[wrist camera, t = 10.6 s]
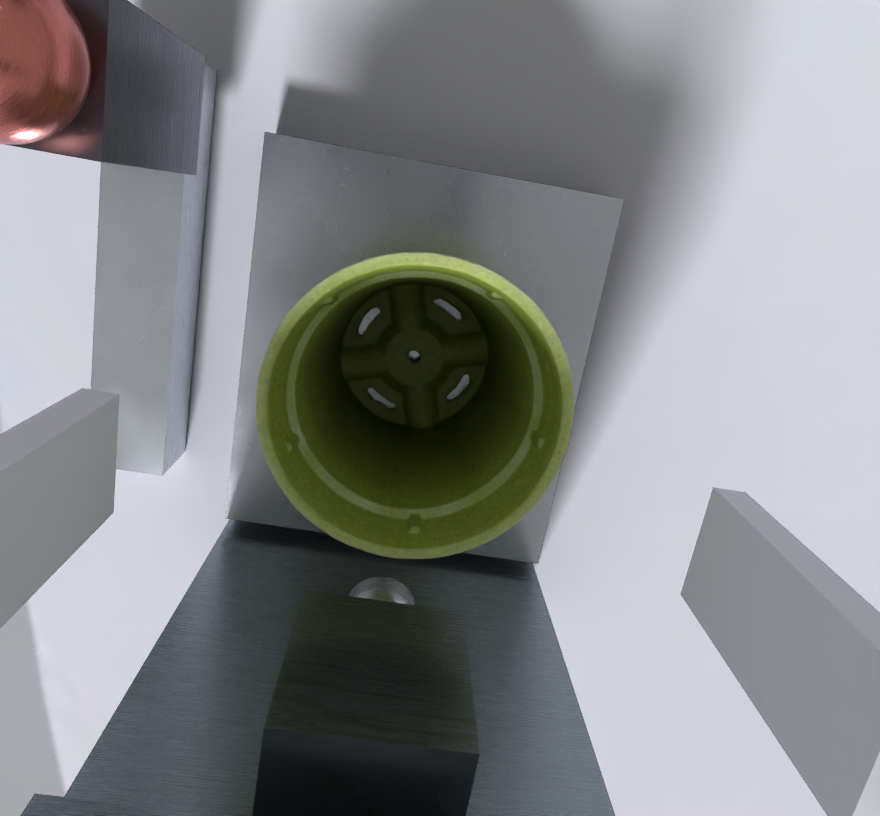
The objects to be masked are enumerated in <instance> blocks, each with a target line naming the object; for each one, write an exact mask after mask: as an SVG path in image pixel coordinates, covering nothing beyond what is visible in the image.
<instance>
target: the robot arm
mask: <svg viewBox="0 0 880 816" xmlns="http://www.w3.org/2000/svg"><path fill="white" fill-rule="evenodd" d="M119 395H120V394H115V393H109V392H103V391H96V390H90V389H83V388H82V389H80V390H79V391H77V392H75V393H73V394H71V395H70V396H68V397H66V398H64V399H63V400H61V401H59V402H57V403H55V404H54V405H52V406H50V407H48V408H47V409H45V410H43V411H41V412H39V413H38V414H36V415H34V416H32V417H30V418H29V419H27V420H25V421H23V422H22V423H20V424H18V425H16V426H14V427H13V428H11V429H9V430H7V431H6V432H4V433H2V434H0V628H1V627H2V626H3V625H4V624H5V623H6V622H7V621H8V620H9V619H10V618H11V617H12V616H13V615H14V614H15V613H16V612H17V611H18V610H19V609H20V608H21V607H22V606H23V605H24V604H25V603H26V602H27V601H28V600H29V599H30V598H31V596H32V595H33V594H34V593H35V592H36V591H37V590H38V589H39V588H40V587H41V586H42V585H43V584H44V583H45V582H46V581H47V580H48V579H49V578H50V577H51V576H52V575H53V574H54V573H55V572H56V571H57V570H58V569H59V568H60V567H61V566H62V565H63V564H64V563H65V562H66V561H67V560H68V559H69V558H70V556H71V555H72V554H73V553H74V552H75V551H76V550H77V549H78V548H79V547H80V546H81V545H82V544H83V543H84V542H85V541H86V540H87V539H88V538H89V537H90V536H91V535H92V534H93V533H94V532H95V531H96V530H97V529H98V528H99V527H100V526H101V525H102V524H103V523H104V522H105V521H106V520H107V519H108V518H109V516H110V515H111V514H112V513H113V512H114V492H115V473H116V453H117V434H118V414H119ZM681 596H682V597H683V599H684V600H685V602H686V603H687V605H688V606H689V608H690V609H691V611H692V612H693V614H694V615H695V617H696V618H697V620H698V621H699V623H700V624H701V626H702V627H703V629H704V630H705V632H706V633H707V635H708V636H709V638H710V639H711V641H712V642H713V644H714V645H715V647H716V648H717V650H718V651H719V653H720V654H721V656H722V657H723V659H724V660H725V662H726V663H727V665H728V667H729V668H730V670H731V671H732V673H733V674H734V676H735V677H736V679H737V680H738V682H739V683H740V685H741V686H742V688H743V689H744V691H745V692H746V694H747V695H748V697H749V698H750V700H751V701H752V703H753V704H754V706H755V707H756V709H757V710H758V712H759V713H760V715H761V716H762V718H763V719H764V721H765V722H766V724H767V725H768V727H769V728H770V730H771V731H772V733H773V734H774V736H775V737H776V739H777V740H778V742H779V743H780V745H781V746H782V748H783V749H784V751H785V752H786V754H787V755H788V757H789V758H790V760H791V761H792V763H793V764H794V766H795V768H796V769H797V771H798V772H799V774H800V775H801V777H802V778H803V780H804V781H805V783H806V784H807V786H808V787H809V789H810V790H811V792H812V793H813V795H814V796H815V798H816V799H817V801H818V802H819V804H820V805H821V807H822V808H823V810H824V811H825V813H826V814H827V816H880V612H878V611H877V610H876V609H875V608H874V607H873V606H872V605H871V604H869V603H868V602H867V601H866V600H865V599H864V598H863V597H862V596H861V595H859V594H858V593H857V592H856V591H855V590H854V589H853V588H852V587H851V586H849V585H848V584H847V583H846V582H845V581H844V580H843V579H842V578H840V577H839V576H838V575H837V574H836V573H835V572H834V571H833V570H832V569H830V568H829V567H828V566H827V565H826V564H825V563H824V562H823V561H822V560H820V559H819V558H818V557H817V556H816V555H815V554H814V553H813V552H811V551H810V550H809V549H808V548H807V547H806V546H805V545H804V544H803V543H801V542H800V541H799V540H798V539H797V538H796V537H795V536H794V535H793V534H791V533H790V532H789V531H788V530H787V529H786V528H785V527H784V526H782V525H781V524H780V523H779V522H778V521H777V520H776V519H775V518H774V517H772V516H771V515H770V514H769V513H768V512H767V511H766V510H765V509H763V508H762V507H761V506H760V505H759V504H758V503H757V502H756V501H755V500H753V499H752V498H751V497H750V496H749V495H748V494H747V493H746V492H739V491H733V490H726V489H720V488H714V487H713V490H712V493H711V497H710V500H709V503H708V506H707V510H706V513H705V516H704V520H703V523H702V526H701V529H700V533H699V536H698V539H697V542H696V546H695V549H694V552H693V555H692V559H691V562H690V565H689V569H688V572H687V575H686V578H685V582H684V585H683V588H682V591H681Z"/></svg>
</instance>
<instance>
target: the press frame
mask: <svg viewBox="0 0 880 816" xmlns="http://www.w3.org/2000/svg"><path fill="white" fill-rule="evenodd" d="M216 76H217V71H216V70H214V69H213V68H211V67H210V66H208V65H207V64H205V71H204V84H203V96H202V109H201V122H200V134H199V147H198V159H197V172H196V175H189V174H182V173H175V172H168V171H161V170H154V169H147V168H140V167H133V166H126V165H119V164H113V163H106V162H101V174H100V197H99V219H98V242H97V264H96V287H95V309H94V331H93V354H92V376H91V390H96V391H103V392H109V393H115V394H120V395H119V414H118V434H117V453H116V469H120V470H127V471H134V472H140V473H147V474H154V475H161V476H162V475H163V474H164V473H165V472H166V471H167V470H168V469H169V468H170V467H171V466H172V465H173V464H174V463H175V462H176V461H177V460H178V458H179V457H180V456H181V455H182V454H183V453H184V452H185V447H186V435H187V423H188V411H189V399H190V387H191V375H192V363H193V351H194V339H195V327H196V315H197V303H198V291H199V279H200V267H201V255H202V243H203V232H204V220H205V208H206V196H207V184H208V172H209V160H210V148H211V136H212V124H213V112H214V100H215V88H216ZM623 202H624V199H620V198H615V197H609V196H604V195H599V194H593V193H588V192H583V191H577V190H572V189H567V188H561V187H556V186H551V185H545V184H540V183H535V182H529V181H524V180H519V179H514V178H508V177H503V176H498V175H492V174H487V173H482V172H476V171H471V170H466V169H460V168H455V167H450V166H444V165H439V164H434V163H428V162H423V161H418V160H413V159H407V158H402V157H397V156H391V155H386V154H381V153H375V152H370V151H365V150H359V149H354V148H349V147H343V146H338V145H333V144H327V143H322V142H317V141H312V140H306V139H301V138H296V137H290V136H285V135H280V134H274V133H269V132H265V135H264V145H263V155H262V164H261V174H260V184H259V194H258V203H257V213H256V223H255V233H254V242H253V252H252V262H251V272H250V281H249V291H248V301H247V311H246V321H245V330H244V340H243V350H242V360H241V369H240V379H239V389H238V399H237V408H236V418H235V428H234V438H233V447H232V457H231V467H230V477H229V486H228V496H227V506H226V516H225V518H226V519H230V520H229V521H228V523H227V525H226V527H225V528H224V530H223V532H222V533H221V535H220V537H219V538H218V540H217V542H216V543H215V545H214V547H213V548H212V550H211V552H210V553H209V555H208V557H207V558H206V560H205V562H204V563H203V565H202V567H201V568H200V570H199V572H198V573H197V575H196V577H195V578H194V580H193V582H192V584H191V585H190V587H189V589H188V590H187V592H186V594H185V595H184V597H183V599H182V600H181V602H180V604H179V605H178V607H177V609H176V610H175V612H174V614H173V615H172V617H171V619H170V620H169V622H168V624H167V625H166V627H165V629H164V630H163V632H162V634H161V635H160V637H159V639H158V641H157V642H156V644H155V646H154V647H153V649H152V651H151V652H150V654H149V656H148V657H147V659H146V661H145V662H144V664H143V666H142V667H141V669H140V671H139V672H138V674H137V676H136V677H135V679H134V681H133V682H132V684H131V686H130V687H129V689H128V691H127V692H126V694H125V696H124V698H123V699H122V701H121V703H120V704H119V706H118V708H117V709H116V711H115V713H114V714H113V716H112V718H111V719H110V721H109V723H108V724H107V726H106V728H105V729H104V731H103V733H102V734H101V736H100V738H99V739H98V741H97V743H96V744H95V746H94V748H93V749H92V751H91V753H90V755H89V756H88V758H87V760H86V761H85V763H84V765H83V766H82V768H81V770H80V771H79V773H78V775H77V776H76V778H75V780H74V781H73V783H72V785H71V786H70V788H69V790H68V791H67V793H66V795H65V796H64V797H60V796H51V795H42V794H34V796H33V797H32V799H31V800H30V802H29V803H28V805H27V806H26V808H25V809H24V811H23V813H22V814H21V816H615V813H614V810H613V807H612V804H611V801H610V798H609V795H608V792H607V789H606V786H605V783H604V780H603V777H602V774H601V771H600V768H599V765H598V762H597V759H596V755H595V752H594V749H593V746H592V743H591V740H590V737H589V734H588V731H587V728H586V725H585V722H584V719H583V716H582V713H581V710H580V707H579V704H578V701H577V697H576V694H575V691H574V688H573V685H572V682H571V679H570V676H569V673H568V670H567V667H566V664H565V661H564V658H563V655H562V652H561V649H560V646H559V643H558V639H557V636H556V633H555V630H554V627H553V624H552V621H551V618H550V615H549V612H548V609H547V606H546V603H545V600H544V597H543V594H542V591H541V588H540V585H539V582H538V578H537V575H536V572H535V569H534V566H533V563H537V564H538V562H539V558H540V554H541V550H542V545H543V541H544V537H545V533H546V528H547V524H548V520H549V516H550V511H551V507H552V503H553V499H554V494H555V490H556V486H557V482H558V478H559V473H560V469H561V466H560V469H559V471H558V472H557V474H556V476H555V478H554V480H553V481H552V483H551V485H550V486H549V488H548V489H547V491H546V492H545V493H544V495H543V496H542V497H541V499H540V500H539V501H538V502H537V504H536V505H535V506H534V507H533V508H532V509H531V510H530V511H529V512H528V513H527V514H526V515H525V517H523V518H522V519H521V520H520V521H519V522H518V523H516V524H515V525H514V526H512V527H511V528H510V529H508V530H507V531H506V532H504V533H503V534H501V535H500V536H498V537H496V538H495V539H492V540H491V541H489V542H487V543H485V544H482V545H480V546H478V547H476V548H473V549H471V550H467V551H464V552H461V553H457V554H453V555H449V556H445V557H439V558H430V559H397V558H390V557H385V556H379V555H376V554H372V553H369V552H365V551H363V550H360V549H357V548H354V547H352V546H349V545H347V544H345V543H343V542H341V541H339V540H337V539H335V538H333V537H332V536H330V535H329V534H327V533H326V532H324V531H323V530H321V529H320V528H318V527H316V526H315V525H314V524H313V523H311V522H310V521H309V520H308V519H307V518H305V517H304V516H303V515H302V514H301V513H300V512H299V511H298V510H297V509H296V508H295V507H294V506H293V504H292V503H291V502H290V501H289V499H288V498H287V497H286V495H285V494H284V493H283V491H282V490H281V488H280V486H279V485H278V483H277V481H276V480H275V478H274V476H273V474H272V472H271V470H270V468H269V466H268V464H267V462H266V459H265V457H264V454H263V451H262V448H261V444H260V440H259V436H258V430H257V423H256V392H257V384H258V378H259V373H260V369H261V365H262V361H263V358H264V355H265V353H266V350H267V348H268V345H269V343H270V341H271V339H272V337H273V335H274V333H275V332H276V330H277V328H278V326H279V325H280V323H281V322H282V320H283V319H284V317H285V316H286V315H287V313H288V312H289V311H290V310H291V309H292V307H293V306H294V305H295V304H296V303H297V302H298V301H299V300H300V299H301V298H302V297H303V296H304V295H305V294H306V293H307V292H309V291H310V290H311V289H312V288H313V287H314V286H316V285H317V284H318V283H319V282H321V281H322V280H324V279H325V278H327V277H328V276H330V275H332V274H333V273H335V272H337V271H339V270H340V269H342V268H344V267H346V266H348V265H351V264H353V263H356V262H359V261H362V260H365V259H368V258H372V257H376V256H381V255H386V254H392V253H401V252H428V253H438V254H444V255H449V256H454V257H459V258H462V259H465V260H468V261H471V262H474V263H477V264H479V265H481V266H484V267H486V268H488V269H490V270H492V271H494V272H496V273H498V274H499V275H501V276H503V277H504V278H506V279H507V280H509V281H510V282H512V283H513V284H514V285H516V286H517V287H518V288H520V289H521V290H522V291H523V292H524V293H525V294H527V295H528V296H529V297H530V298H531V299H532V300H533V301H534V302H535V303H536V305H537V306H538V307H539V308H540V309H541V310H542V311H543V313H544V314H545V315H546V317H547V318H548V320H549V321H550V323H551V324H552V326H553V327H554V329H555V331H556V333H557V334H558V336H559V339H560V341H561V343H562V345H563V347H564V349H565V352H566V355H567V358H568V362H569V365H570V369H571V374H572V380H573V386H574V410H575V406H576V401H577V397H578V393H579V389H580V384H581V380H582V376H583V372H584V367H585V363H586V359H587V355H588V350H589V346H590V342H591V338H592V334H593V329H594V325H595V321H596V317H597V312H598V308H599V304H600V300H601V295H602V291H603V287H604V283H605V278H606V274H607V270H608V266H609V261H610V257H611V253H612V249H613V245H614V240H615V236H616V232H617V228H618V223H619V219H620V215H621V211H622V206H623ZM434 304H435V305H437V306H438V307H440V308H442V309H443V310H445V311H446V312H447V313H449V314H450V315H451V316H452V317H453V318H454V319H455V320H456V321H458V322H460V320H461V319H462V318H461V313H460V312H458V310H457V309H456V308H454V307H453V306H451V305H450V304H449V303H447V302H445V301H443V300H441V299H438V300H434ZM379 314H380V310H379V309H378V308H374V309H371V310H370V311H369V312H368V313H367V314H366V315H365V317H364V318H363V320H362V321H361V324H360V327H359V329H358V333H359V335H358V336H362V335H363V332H365V331H366V329H367V327H368V326H369V324H370V323H371V322H372V321H373V320H374V319H375V318H376V317H377V316H378V315H379ZM420 358H421V357H420V355H419V353H418V352H417V351H410V352H409V354H408V359H409V361H411V362H412V363H417V362H419V360H420ZM469 380H470V378H469V375H464V376H463V377H462V379H461V381H460V383H459V384H458V386H457V387H456V388H455V389H454V390H453V391H452V392H451V393H450V394H449V395H448V396H447V400H448V401H453V400H455V399H456V398H458V397H459V396H460V395H461V394H462V392H463V391H464V390H465V389H466V388H467V386H468V385H469ZM367 394H368V395H369V396H370V398H371V399H372V400H373V401H375V402H376V403H379V404H381V405H382V406H384V407H386V408H387V409H389V410H391V409H393V408H394V409H395V404H393V403H391V402H389V401H388V400H386V399H385V398H383V397H382V396H381V395H380V394H378V393H377V392H376V391H375V390H374V389H373V388H369V389H368V391H367ZM561 465H562V464H561Z"/></svg>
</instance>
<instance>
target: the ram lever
mask: <svg viewBox="0 0 880 816" xmlns="http://www.w3.org/2000/svg"><path fill="white" fill-rule="evenodd" d="M205 59H206V56H204V55H203V54H201V53H200V52H199V51H197V50H196V49H194V48H193V47H192V46H190V45H189V44H187V43H186V42H185V41H183V40H182V39H180V38H179V37H178V36H176V35H175V34H174V33H172V32H171V31H169V30H168V29H167V28H165V27H164V26H162V25H161V24H160V23H158V22H157V21H155V20H154V19H153V18H151V17H150V16H148V15H147V14H146V13H144V12H143V11H141V10H140V9H139V8H137V7H136V6H134V5H133V4H132V3H130V2H129V1H128V0H0V144H6V145H11V146H17V147H22V148H28V149H33V150H39V151H44V152H50V153H55V154H61V155H66V156H72V157H77V158H83V159H88V160H94V161H99V162H106V163H113V164H119V165H126V166H133V167H140V168H147V169H154V170H161V171H168V172H175V173H182V174H189V175H196V172H197V159H198V147H199V134H200V122H201V109H202V96H203V84H204V71H205Z"/></svg>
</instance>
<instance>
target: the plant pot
mask: <svg viewBox="0 0 880 816" xmlns="http://www.w3.org/2000/svg"><path fill="white" fill-rule="evenodd" d="M438 299H441V300H443V301H445V302H447V303H449V304H450V305H451V306H453V307H454V308H456V309H457V310H458V312H460V313H461V318H462V319H461V320H460V322H458V321H456V320H455V319H454V318H453V317H452V316H451V315H450V314H449V313H447V312H446V311H445V310H443V309H442V308H440V307H438V306H437V305H435V304H434V300H438ZM374 308H378V309H379V310H380V314H379V315H378V316H377V317H376V318H375V319H374V320H373V321H372V322H371V323H370V324H369V326H368V327H367V329H366V331H365V332H363V335H362V336H358V335H359V333H358V329H359V327H360V324H361V321H362V320H363V318H364V317H365V315H366V314H367V313H368V312H369V311H370V310H371V309H374ZM410 351H417V352H418V353H419V355H420V357H421V358H420V360H419V362H417V363H412V362H411V361H409V359H408V354H409V352H410ZM464 375H469V378H470V380H469V385H468V386H467V388H466V389H465V390H464V391H463V392H462V394H461V395H460V396H459V397H458V398H456V399H455V400H453V401H448V400H447V396H448V395H449V394H450V393H451V392H452V391H453V390H454V389H455V388H456V387H457V386H458V384H459V383H460V381H461V379H462V377H463V376H464ZM369 388H373V389H374V390H375V391H376V392H377V393H378V394H380V395H381V396H382V397H383V398H385V399H386V400H388V401H389V402H391V403H393V404H395V409H394V408H393V409H391V410H389V409H387V408H386V407H384V406H382V405H381V404H379V403H376V402H375V401H373V400H372V399H371V398H370V396H369V395H368V394H367V391H368V389H369ZM573 417H574V386H573V380H572V374H571V369H570V365H569V362H568V358H567V355H566V352H565V349H564V347H563V345H562V343H561V341H560V339H559V336H558V334H557V333H556V331H555V329H554V327H553V326H552V324H551V323H550V321H549V320H548V318H547V317H546V315H545V314H544V313H543V311H542V310H541V309H540V308H539V307H538V306H537V305H536V303H535V302H534V301H533V300H532V299H531V298H530V297H529V296H528V295H527V294H525V293H524V292H523V291H522V290H521V289H520V288H518V287H517V286H516V285H514V284H513V283H512V282H510V281H509V280H507V279H506V278H504V277H503V276H501V275H499V274H498V273H496V272H494V271H492V270H490V269H488V268H486V267H484V266H481V265H479V264H477V263H474V262H471V261H468V260H465V259H462V258H459V257H454V256H449V255H444V254H438V253H428V252H401V253H392V254H386V255H381V256H376V257H372V258H368V259H365V260H362V261H359V262H356V263H353V264H351V265H348V266H346V267H344V268H342V269H340V270H339V271H337V272H335V273H333V274H332V275H330V276H328V277H327V278H325V279H324V280H322V281H321V282H319V283H318V284H317V285H316V286H314V287H313V288H312V289H311V290H310V291H309V292H307V293H306V294H305V295H304V296H303V297H302V298H301V299H300V300H299V301H298V302H297V303H296V304H295V305H294V306H293V307H292V309H291V310H290V311H289V312H288V313H287V315H286V316H285V317H284V319H283V320H282V322H281V323H280V325H279V326H278V328H277V330H276V332H275V333H274V335H273V337H272V339H271V341H270V343H269V345H268V348H267V350H266V353H265V355H264V358H263V361H262V365H261V369H260V373H259V378H258V384H257V392H256V423H257V430H258V436H259V440H260V444H261V448H262V451H263V454H264V457H265V459H266V462H267V464H268V466H269V468H270V470H271V472H272V474H273V476H274V478H275V480H276V481H277V483H278V485H279V486H280V488H281V490H282V491H283V493H284V494H285V495H286V497H287V498H288V499H289V501H290V502H291V503H292V504H293V506H294V507H295V508H296V509H297V510H298V511H299V512H300V513H301V514H302V515H303V516H304V517H305V518H307V519H308V520H309V521H310V522H311V523H313V524H314V525H315V526H316V527H318V528H320V529H321V530H323V531H324V532H326V533H327V534H329V535H330V536H332V537H333V538H335V539H337V540H339V541H341V542H343V543H345V544H347V545H349V546H352V547H354V548H357V549H360V550H363V551H365V552H369V553H372V554H376V555H379V556H385V557H390V558H397V559H430V558H439V557H445V556H449V555H453V554H457V553H461V552H464V551H467V550H471V549H473V548H476V547H478V546H480V545H482V544H485V543H487V542H489V541H491V540H492V539H495V538H496V537H498V536H500V535H501V534H503V533H504V532H506V531H507V530H508V529H510V528H511V527H512V526H514V525H515V524H516V523H518V522H519V521H520V520H521V519H522V518H523V517H525V515H526V514H527V513H528V512H529V511H530V510H531V509H532V508H533V507H534V506H535V505H536V504H537V502H538V501H539V500H540V499H541V497H542V496H543V495H544V493H545V492H546V491H547V489H548V488H549V486H550V485H551V483H552V481H553V480H554V478H555V476H556V474H557V472H558V471H559V469H560V466H561V464H562V462H563V459H564V456H565V453H566V450H567V447H568V444H569V440H570V437H571V431H572V426H573Z"/></svg>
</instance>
